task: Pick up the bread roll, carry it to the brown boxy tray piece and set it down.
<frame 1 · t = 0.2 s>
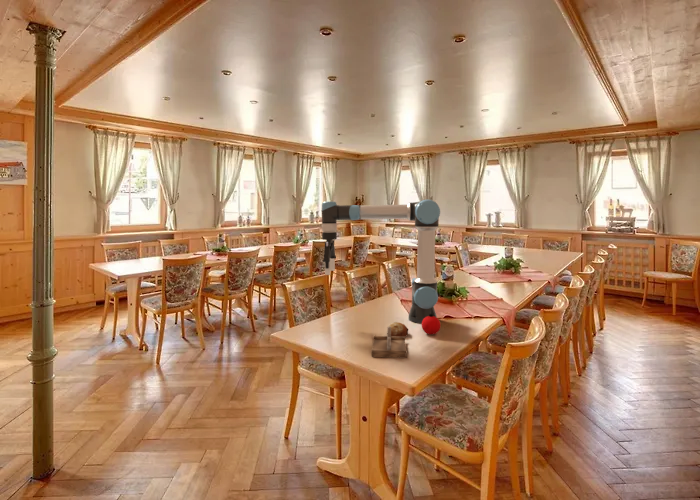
hand: (330, 272, 199), 28 cm above the table, fingers open, 13 cm apart
bread roll: (397, 335, 185), on the table
brown boxy tray piece: (389, 349, 165), on the table
ornament: (430, 334, 185), on the table
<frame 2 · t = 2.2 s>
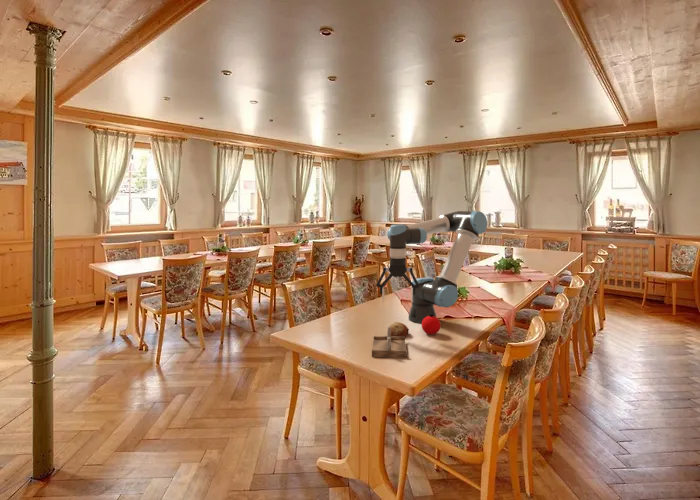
hand: (397, 301, 183), 16 cm above the table, fingers open, 13 cm apart
nothing on the table moved.
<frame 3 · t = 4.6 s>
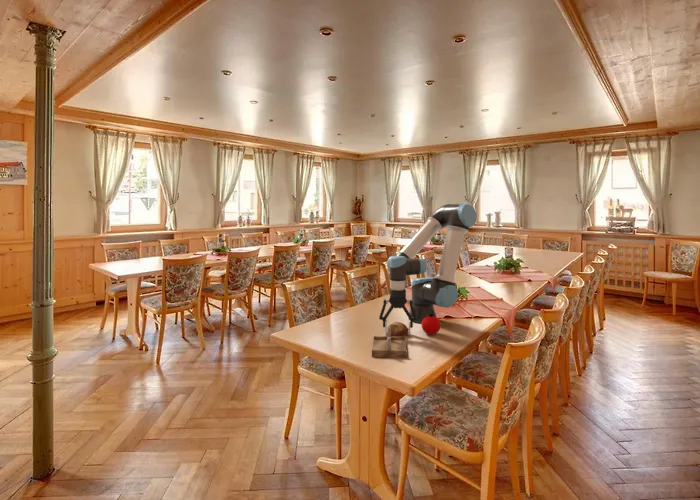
hand: (397, 333, 185), 0 cm above the table, fingers closed on bread roll, 10 cm apart
bread roll: (397, 334, 185), on the table, touching gripper
everything else where it was.
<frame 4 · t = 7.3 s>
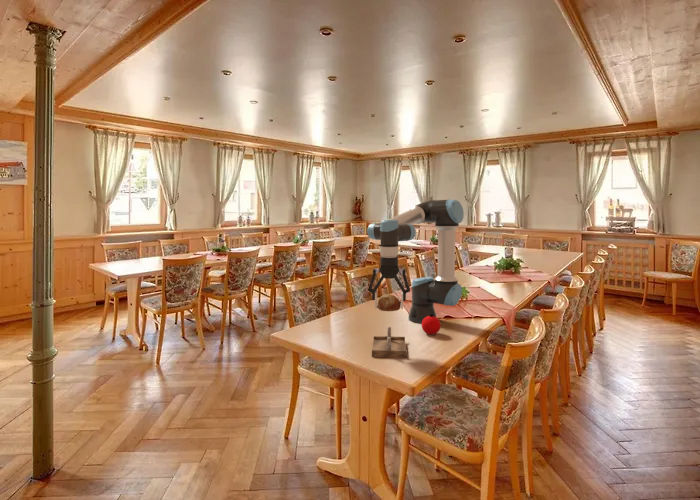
hand: (388, 307, 164), 18 cm above the table, fingers closed on bread roll, 10 cm apart
bread roll: (389, 309, 164), point 18 cm above the table, touching gripper
everything else where it was.
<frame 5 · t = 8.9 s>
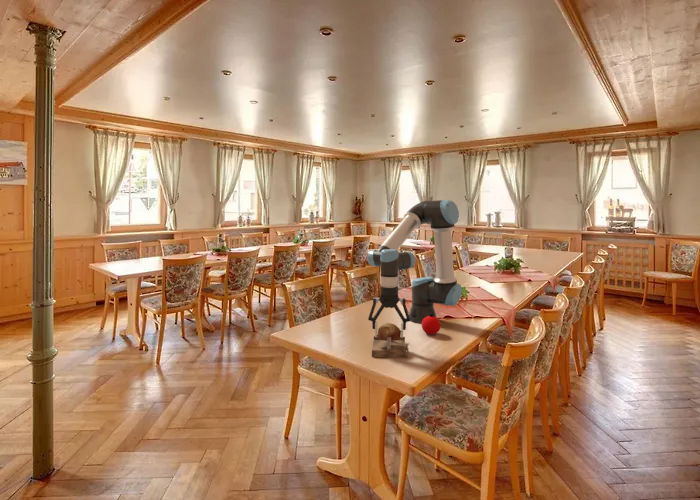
hand: (389, 336, 165), 6 cm above the table, fingers closed on bread roll, 10 cm apart
bread roll: (389, 337, 165), point 5 cm above the table, touching gripper
everything else where it was.
when the fingers open (3 cm above the table, at t = 10.0 s): bread roll stays where it is, resting on brown boxy tray piece.
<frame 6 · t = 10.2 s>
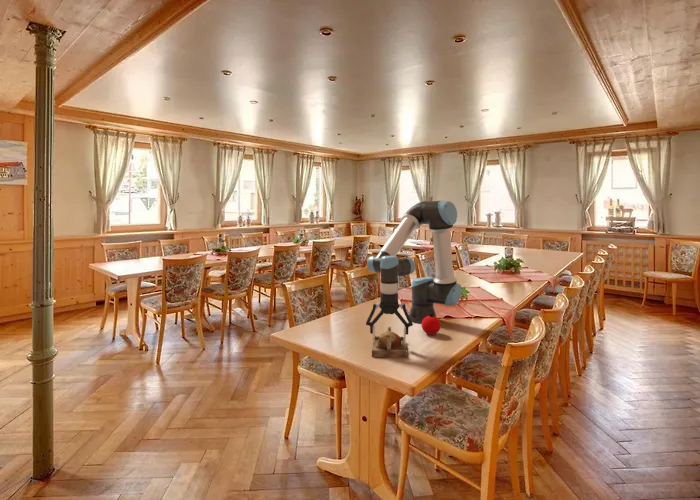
hand: (389, 341, 165), 4 cm above the table, fingers open, 12 cm apart
bread roll: (389, 345, 165), point 1 cm above the table, touching brown boxy tray piece
everything else where it was.
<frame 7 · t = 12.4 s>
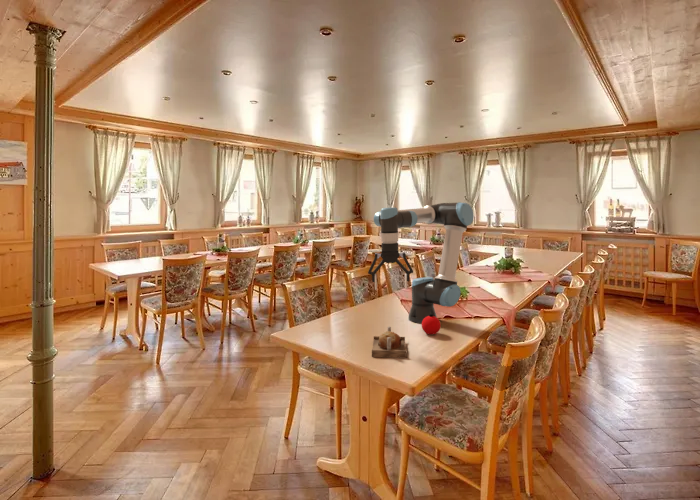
hand: (390, 288, 174), 24 cm above the table, fingers open, 13 cm apart
nothing on the table moved.
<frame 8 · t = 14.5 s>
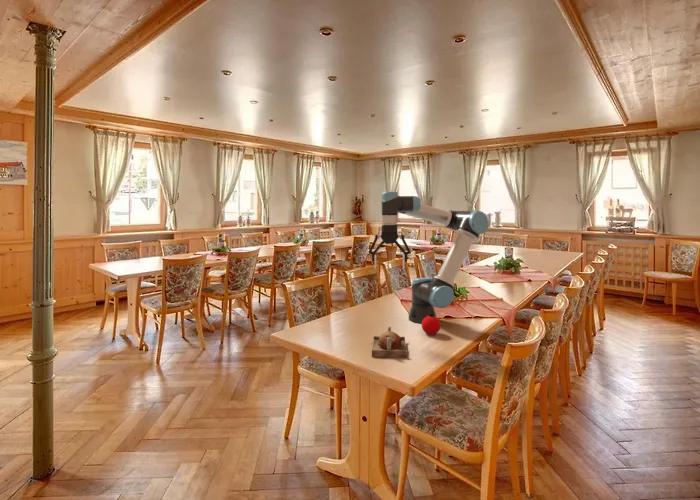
hand: (389, 268, 185), 32 cm above the table, fingers open, 13 cm apart
nothing on the table moved.
at the end: bread roll 0.5 cm from the brown boxy tray piece (horizontally); bread roll touching brown boxy tray piece; the gripper is holding nothing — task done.
